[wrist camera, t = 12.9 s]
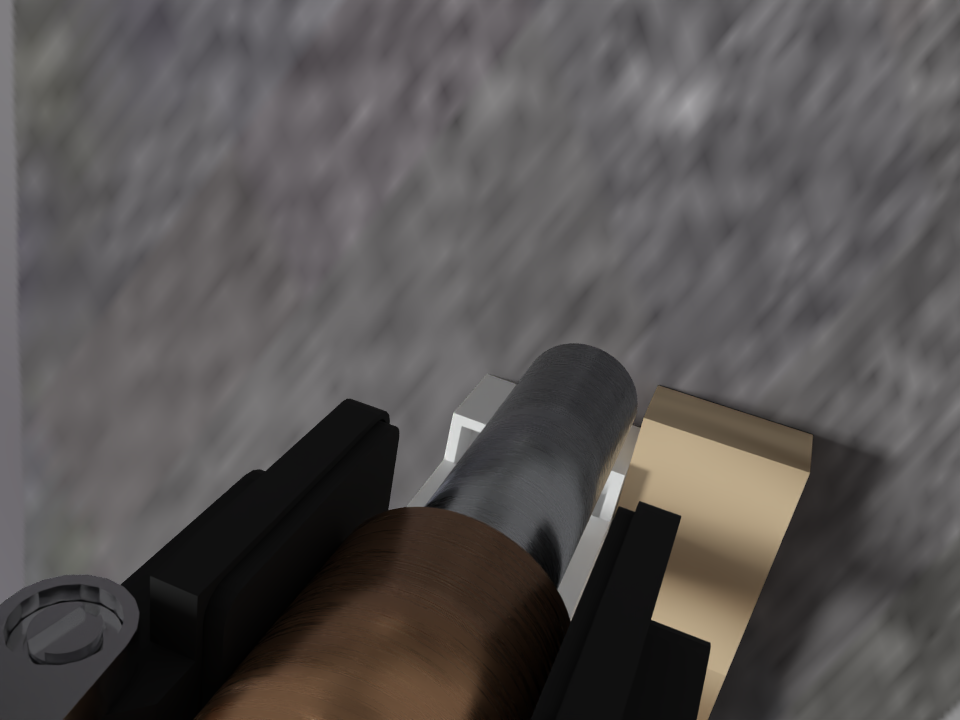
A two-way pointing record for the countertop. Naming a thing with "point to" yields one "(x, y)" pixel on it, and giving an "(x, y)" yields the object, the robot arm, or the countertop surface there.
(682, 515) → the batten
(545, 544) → the awl
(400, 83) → the countertop surface
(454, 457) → the white angled block
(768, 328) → the countertop surface
